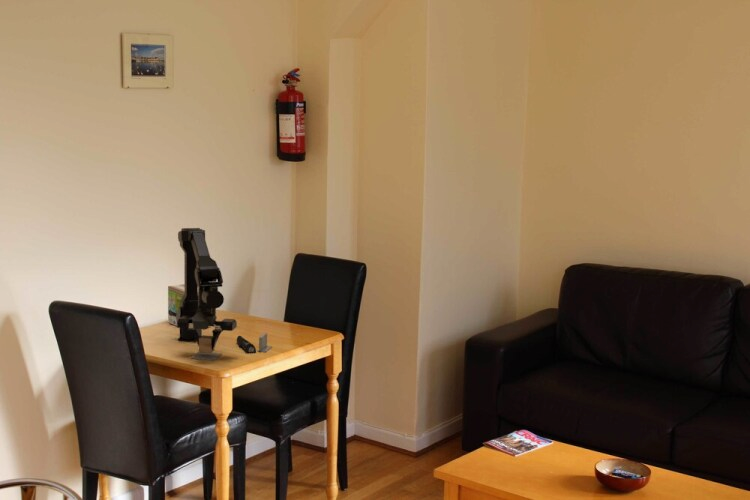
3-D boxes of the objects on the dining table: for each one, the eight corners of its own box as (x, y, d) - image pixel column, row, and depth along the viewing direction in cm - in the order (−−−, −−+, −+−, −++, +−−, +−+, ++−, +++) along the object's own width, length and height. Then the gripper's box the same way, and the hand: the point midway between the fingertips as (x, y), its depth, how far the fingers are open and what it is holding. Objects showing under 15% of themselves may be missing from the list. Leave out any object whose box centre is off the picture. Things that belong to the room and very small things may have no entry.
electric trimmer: (244, 343, 328) (244, 334, 328) (256, 353, 314) (257, 344, 314) (234, 344, 327) (234, 335, 326) (246, 354, 313) (246, 345, 312)
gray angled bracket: (257, 351, 316) (258, 337, 315) (263, 346, 323) (263, 332, 322) (266, 352, 315) (266, 338, 315) (271, 347, 322) (271, 333, 321)
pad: (190, 358, 304) (190, 357, 304) (198, 352, 312) (198, 351, 312) (214, 360, 303) (214, 359, 303) (221, 354, 311) (221, 353, 311)
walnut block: (202, 349, 309) (202, 335, 309) (214, 350, 309) (214, 336, 308) (198, 352, 305) (198, 338, 305) (210, 353, 305) (210, 338, 304)
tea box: (166, 323, 352) (167, 285, 350) (190, 320, 359) (190, 282, 357) (187, 331, 341) (188, 291, 339) (211, 327, 348) (211, 289, 346)
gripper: (171, 305, 298) (170, 352, 300) (227, 309, 296) (227, 356, 298) (182, 298, 309) (182, 344, 311) (237, 302, 307) (236, 348, 309)
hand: (206, 348), depth 307 cm, fingers closed on walnut block, 4 cm apart
